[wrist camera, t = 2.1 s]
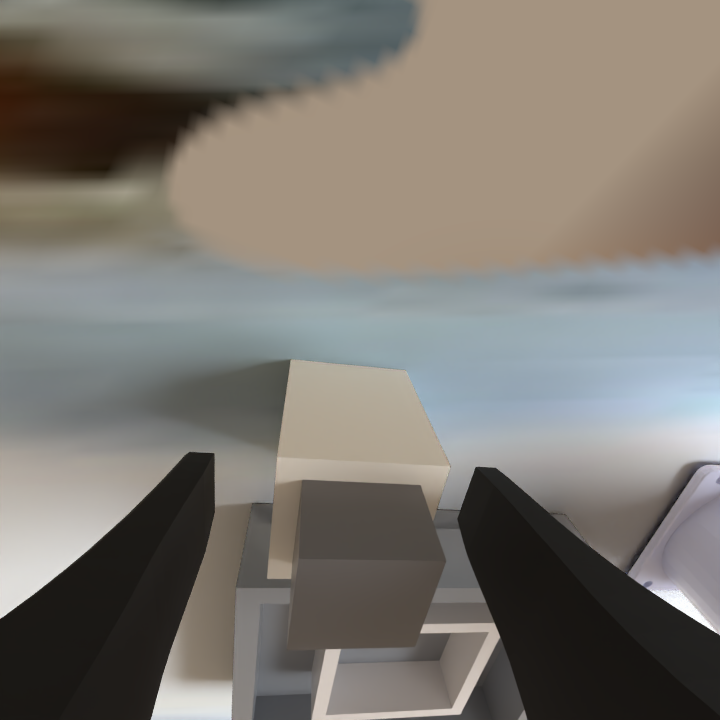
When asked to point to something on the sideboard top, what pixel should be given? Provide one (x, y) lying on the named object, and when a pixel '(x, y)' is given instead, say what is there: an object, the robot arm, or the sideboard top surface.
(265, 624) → the walled box
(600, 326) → the sideboard top surface
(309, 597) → the connector
